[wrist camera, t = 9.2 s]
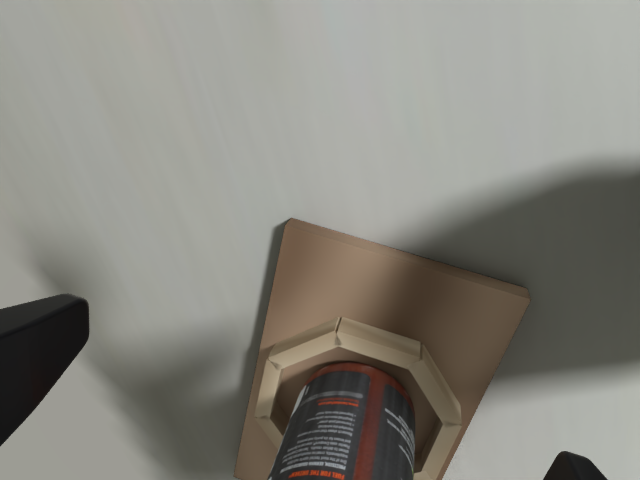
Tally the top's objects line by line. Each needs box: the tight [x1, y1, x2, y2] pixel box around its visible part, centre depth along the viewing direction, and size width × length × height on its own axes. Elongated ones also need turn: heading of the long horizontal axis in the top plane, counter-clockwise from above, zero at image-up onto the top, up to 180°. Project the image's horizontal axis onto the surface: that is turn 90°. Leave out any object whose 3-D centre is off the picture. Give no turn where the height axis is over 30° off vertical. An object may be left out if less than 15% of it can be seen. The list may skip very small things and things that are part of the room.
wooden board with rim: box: [233, 218, 531, 480], centre depth 24 cm, size 11×17×2 cm, turn 167°
